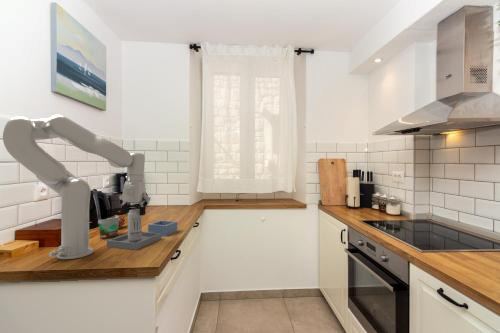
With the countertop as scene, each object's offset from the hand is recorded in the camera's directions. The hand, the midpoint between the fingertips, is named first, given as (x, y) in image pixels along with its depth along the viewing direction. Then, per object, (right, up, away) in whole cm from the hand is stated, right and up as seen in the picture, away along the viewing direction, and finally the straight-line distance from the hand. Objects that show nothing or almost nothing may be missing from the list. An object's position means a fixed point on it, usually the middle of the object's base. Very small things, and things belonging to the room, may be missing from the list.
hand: (133, 214), depth 122 cm
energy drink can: (0, -13, 0) cm, 13 cm away
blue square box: (+8, -14, +18) cm, 24 cm away
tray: (+1, -14, +1) cm, 14 cm away
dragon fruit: (-23, -14, +27) cm, 38 cm away
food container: (-16, -14, +11) cm, 24 cm away
